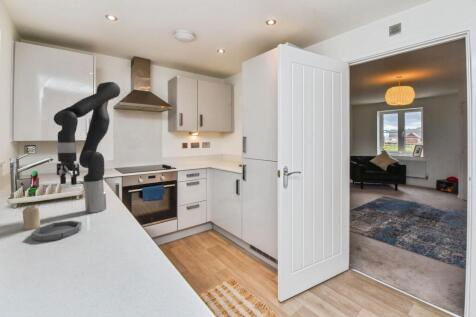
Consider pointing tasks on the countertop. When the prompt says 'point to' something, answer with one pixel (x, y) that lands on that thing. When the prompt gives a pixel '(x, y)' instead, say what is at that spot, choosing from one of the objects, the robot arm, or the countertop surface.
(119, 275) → the countertop surface
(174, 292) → the countertop surface
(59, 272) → the countertop surface
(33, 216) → the candle
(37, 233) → the saucer
